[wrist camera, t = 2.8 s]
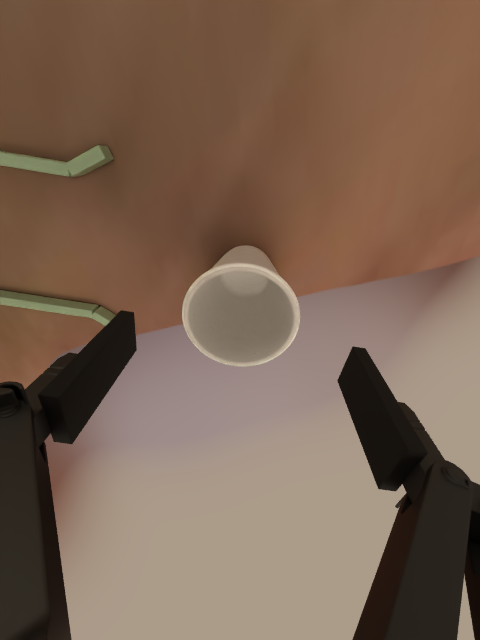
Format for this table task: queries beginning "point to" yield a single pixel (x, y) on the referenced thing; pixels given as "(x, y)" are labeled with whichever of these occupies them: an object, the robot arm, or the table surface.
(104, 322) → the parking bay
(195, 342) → the dixie cup
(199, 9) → the table surface
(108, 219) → the table surface
